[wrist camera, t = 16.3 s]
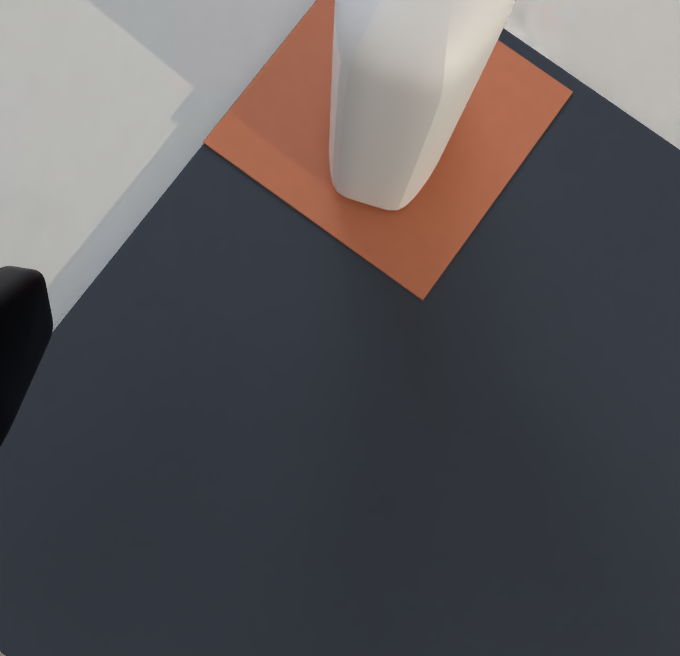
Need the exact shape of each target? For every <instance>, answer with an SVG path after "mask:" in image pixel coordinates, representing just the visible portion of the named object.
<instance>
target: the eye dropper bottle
mask: <svg viewBox="0 0 680 656" xmlns="http://www.w3.org/2000/svg"><path fill="white" fill-rule="evenodd" d="M515 1H516V0H335V13H334V33H333V57H332V82H331V108H330V135H329V164H330V174H331V179H332V184H333V186H334V187H335V189H336V191H337V192H338V193H340V194H341V195H343V196H344V197H346V198H349V199H352V200H355V201H358V202H361V203H365V204H368V205H371V206H374V207H378V208H381V209H385V210H399V209H401V208H403V207H405V206H406V205H407V204H408V203H409V202H410V201H411V200H412V199H413V198H414V197H415V196H416V195H417V194H418V192H419V191H420V190H421V188H422V187H423V186H424V184H425V183H426V182H427V180H428V179H429V177H430V175H431V174H432V172H433V170H434V169H435V167H436V165H437V163H438V161H439V159H440V157H441V155H442V153H443V151H444V149H445V147H446V145H447V143H448V141H449V139H450V137H451V135H452V133H453V131H454V129H455V127H456V125H457V123H458V121H459V119H460V117H461V114H462V112H463V110H464V108H465V106H466V104H467V102H468V100H469V98H470V96H471V94H472V92H473V90H474V88H475V86H476V84H477V82H478V80H479V78H480V75H481V73H482V71H483V69H484V67H485V65H486V63H487V61H488V59H489V57H490V55H491V53H492V51H493V49H494V46H495V44H496V42H497V40H498V38H499V36H500V34H501V32H502V30H503V28H504V26H505V24H506V21H507V19H508V17H509V15H510V13H511V10H512V8H513V6H514V3H515Z"/></svg>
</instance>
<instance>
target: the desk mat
mask: <svg viewBox="0 0 680 656" xmlns="http://www.w3.org/2000/svg"><path fill="white" fill-rule="evenodd" d="M334 13H335V0H316V2H315V3H314V4H313V5H312V7H311V8H310V9H309V10H308V12H307V13H306V14H305V15H304V17H303V18H302V19H301V20H300V22H299V23H298V24H297V25H296V27H295V28H294V29H293V30H292V32H291V33H290V34H289V35H288V37H287V38H286V39H285V40H284V42H283V43H282V44H281V45H280V47H279V48H278V49H277V50H276V52H275V53H274V54H273V55H272V57H271V58H270V59H269V60H268V62H267V63H266V64H265V65H264V67H263V68H262V69H261V70H260V72H259V73H258V74H257V75H256V77H255V78H254V79H253V80H252V82H251V83H250V84H249V85H248V87H247V88H246V89H245V90H244V92H243V93H242V94H241V95H240V97H239V98H238V99H237V100H236V102H235V103H234V104H233V105H232V107H231V108H230V109H229V110H228V112H227V113H226V114H225V115H224V116H223V118H222V119H221V120H220V121H219V123H218V124H217V125H216V126H215V128H214V129H213V130H212V131H211V133H210V134H209V135H208V136H207V138H206V139H205V140H204V141H203V143H204V144H203V145H202V147H201V148H200V149H199V150H198V152H197V153H196V154H195V155H194V157H193V158H192V159H191V160H190V162H189V163H188V164H187V165H186V167H185V168H184V169H183V170H182V172H181V173H180V174H179V175H178V177H177V178H176V179H175V180H174V182H173V183H172V184H171V185H170V187H169V188H168V189H167V190H166V192H165V193H164V194H163V195H162V197H161V198H160V199H159V200H158V202H157V203H156V204H155V205H154V207H153V208H152V209H151V210H150V212H149V213H148V214H147V215H146V217H145V218H144V219H143V220H142V222H141V223H140V224H139V225H138V227H137V228H136V229H135V230H134V232H133V233H132V234H131V235H130V237H129V238H128V239H127V240H126V242H125V243H124V244H123V245H122V247H121V248H120V249H119V250H118V252H117V253H116V254H115V255H114V256H113V258H112V259H111V260H110V261H109V263H108V264H107V265H106V266H105V268H104V269H103V270H102V271H101V273H100V274H99V275H98V276H97V278H96V279H95V280H94V281H93V283H92V284H91V285H90V286H89V288H88V289H87V290H86V291H85V293H84V294H83V295H82V296H81V298H80V299H79V300H78V301H77V303H76V304H75V305H74V306H73V308H72V309H71V310H70V311H69V313H68V314H67V315H66V316H65V318H64V319H63V320H62V321H61V323H60V324H59V325H58V326H57V328H56V329H55V330H54V331H53V333H52V335H51V338H50V341H49V343H48V346H47V348H46V350H45V352H44V355H43V357H42V359H41V361H40V364H39V366H38V368H37V370H36V373H35V375H34V377H33V379H32V382H31V384H30V386H29V388H28V391H27V393H26V395H25V397H24V400H23V402H22V404H21V406H20V409H19V411H18V413H17V415H16V418H15V420H14V422H13V424H12V426H11V428H10V430H9V432H8V434H7V436H6V438H5V440H4V442H3V443H2V445H1V447H0V651H1V652H2V653H3V654H5V655H6V656H680V150H679V149H678V148H676V147H675V146H673V145H672V144H670V143H669V142H668V141H666V140H665V139H663V138H662V137H660V136H659V135H657V134H656V133H655V132H653V131H652V130H650V129H649V128H647V127H646V126H644V125H643V124H641V123H640V122H639V121H637V120H636V119H634V118H633V117H631V116H630V115H628V114H627V113H626V112H624V111H623V110H621V109H620V108H618V107H617V106H615V105H614V104H612V103H611V102H610V101H608V100H607V99H605V98H604V97H602V96H601V95H599V94H598V93H596V92H595V91H594V90H592V89H591V88H589V87H588V86H586V85H585V84H583V83H582V82H581V81H579V80H578V79H576V78H575V77H573V76H572V75H570V74H569V73H567V72H566V71H565V70H563V69H562V68H560V67H559V66H557V65H556V64H554V63H553V62H552V61H550V60H549V59H547V58H546V57H544V56H543V55H541V54H540V53H538V52H537V51H536V50H534V49H533V48H531V47H530V46H528V45H527V44H525V43H524V42H523V41H521V40H520V39H518V38H517V37H515V36H514V35H512V34H511V33H509V32H508V31H507V30H505V29H504V28H503V30H502V32H501V34H500V36H499V38H498V40H497V42H496V44H495V46H494V49H493V51H492V53H491V55H490V57H489V59H488V61H487V63H486V65H485V67H484V69H483V71H482V73H481V75H480V78H479V80H478V82H477V84H476V86H475V88H474V90H473V92H472V94H471V96H470V98H469V100H468V102H467V104H466V106H465V108H464V110H463V112H462V114H461V117H460V119H459V121H458V123H457V125H456V127H455V129H454V131H453V133H452V135H451V137H450V139H449V141H448V143H447V145H446V147H445V149H444V151H443V153H442V155H441V157H440V159H439V161H438V163H437V165H436V167H435V169H434V170H433V172H432V174H431V175H430V177H429V179H428V180H427V182H426V183H425V184H424V186H423V187H422V188H421V190H420V191H419V192H418V194H417V195H416V196H415V197H414V198H413V199H412V200H411V201H410V202H409V203H408V204H407V205H406V206H405V207H403V208H401V209H399V210H385V209H381V208H378V207H374V206H371V205H368V204H365V203H361V202H358V201H355V200H352V199H349V198H346V197H344V196H343V195H341V194H340V193H338V192H337V191H336V189H335V187H334V186H333V184H332V179H331V174H330V164H329V135H330V108H331V82H332V57H333V33H334Z"/></svg>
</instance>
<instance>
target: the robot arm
mask: <svg viewBox="0 0 680 656" xmlns="http://www.w3.org/2000/svg"><path fill="white" fill-rule="evenodd" d="M52 330H53V320H52V314H51V309H50V304H49V298H48V293H47V288H46V282H45V279H44V277H43V275H42V274H41V273H40V272H39V271H37V270H33V269H27V268H21V267H14V266H5V267H2V268H0V447H1V445H2V443H3V442H4V440H5V438H6V436H7V434H8V432H9V430H10V428H11V426H12V424H13V422H14V420H15V418H16V415H17V413H18V411H19V409H20V406H21V404H22V402H23V400H24V397H25V395H26V393H27V391H28V388H29V386H30V384H31V382H32V379H33V377H34V375H35V373H36V370H37V368H38V366H39V364H40V361H41V359H42V357H43V355H44V352H45V350H46V348H47V346H48V343H49V341H50V338H51V335H52Z"/></svg>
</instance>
